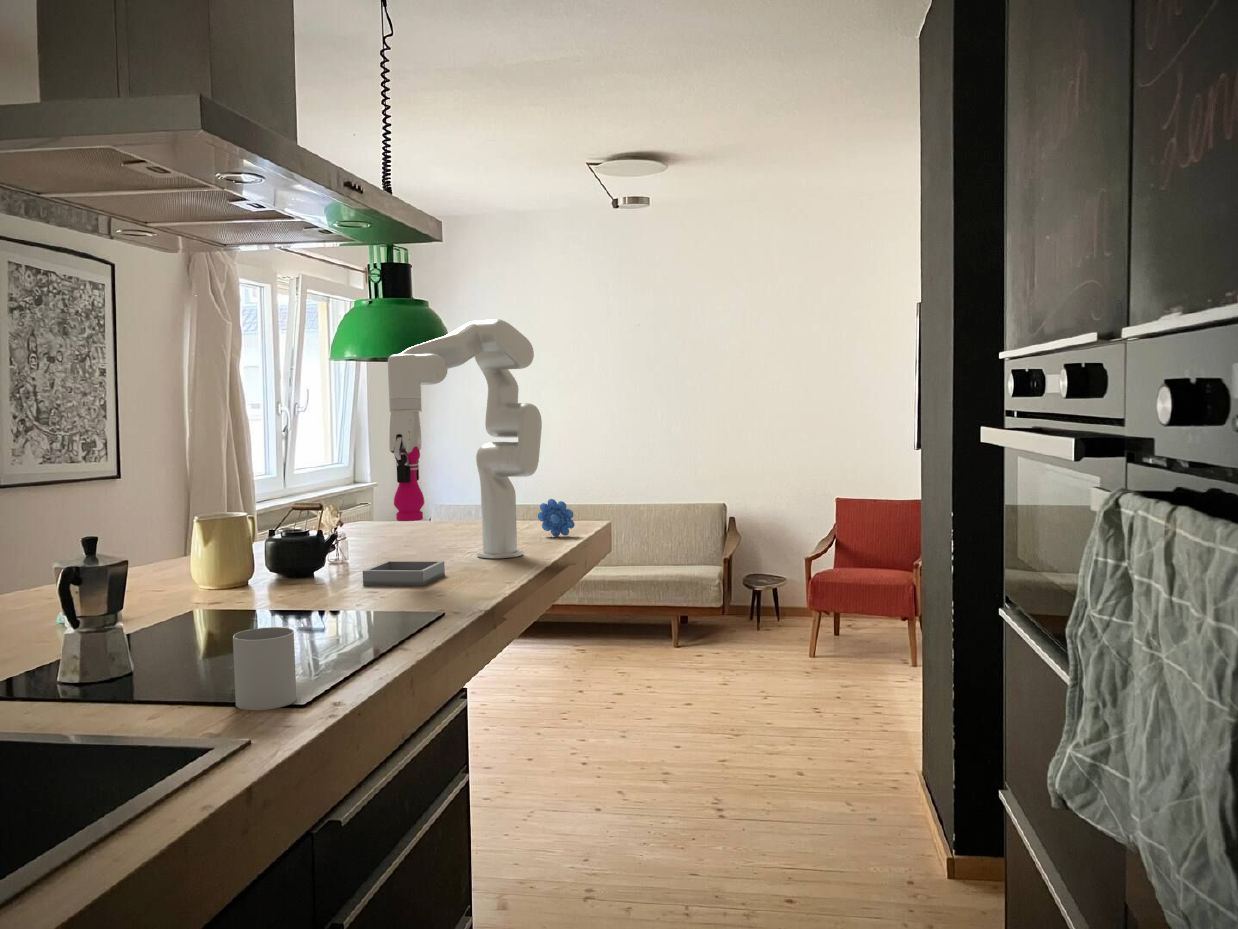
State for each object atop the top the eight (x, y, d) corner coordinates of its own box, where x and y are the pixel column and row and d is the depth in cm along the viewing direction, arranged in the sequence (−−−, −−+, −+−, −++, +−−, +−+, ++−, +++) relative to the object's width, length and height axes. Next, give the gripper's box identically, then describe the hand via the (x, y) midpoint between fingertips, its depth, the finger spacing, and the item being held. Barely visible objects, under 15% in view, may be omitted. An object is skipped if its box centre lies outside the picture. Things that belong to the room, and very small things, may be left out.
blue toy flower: (536, 538, 322) (535, 500, 321) (539, 535, 328) (538, 498, 328) (573, 538, 321) (572, 499, 320) (575, 535, 328) (574, 497, 327)
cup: (291, 690, 155) (288, 624, 155) (302, 704, 148) (299, 635, 148) (231, 699, 151) (228, 631, 151) (240, 713, 144) (237, 643, 144)
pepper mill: (428, 517, 253) (425, 436, 251) (420, 521, 245) (417, 437, 244) (399, 518, 253) (396, 436, 252) (390, 521, 246) (387, 437, 245)
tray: (387, 574, 259) (387, 560, 259) (444, 575, 257) (444, 561, 257) (363, 585, 245) (362, 570, 244) (423, 586, 242) (423, 571, 242)
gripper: (402, 405, 256) (405, 478, 258) (377, 406, 240) (380, 484, 241) (432, 405, 255) (434, 478, 257) (408, 406, 239) (411, 484, 240)
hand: (408, 480), depth 249 cm, fingers closed on pepper mill, 5 cm apart
